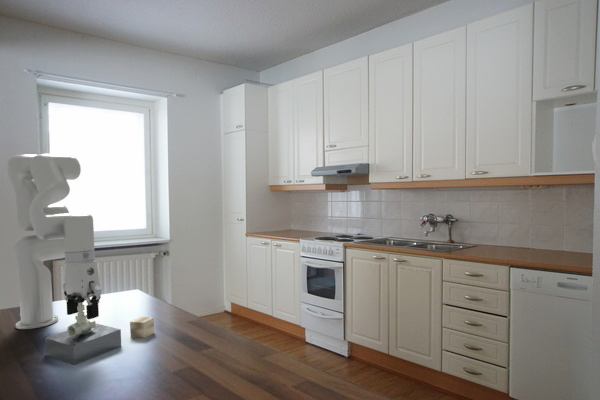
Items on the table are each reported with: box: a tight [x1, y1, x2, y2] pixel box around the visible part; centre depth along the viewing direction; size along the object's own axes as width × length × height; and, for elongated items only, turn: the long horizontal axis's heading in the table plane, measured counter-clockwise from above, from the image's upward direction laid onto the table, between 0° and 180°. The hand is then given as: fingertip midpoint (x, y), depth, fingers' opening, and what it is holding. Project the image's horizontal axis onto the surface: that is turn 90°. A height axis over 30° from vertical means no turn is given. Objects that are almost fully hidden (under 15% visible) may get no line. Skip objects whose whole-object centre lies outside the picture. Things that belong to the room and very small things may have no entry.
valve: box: [66, 293, 97, 338], centre depth 112 cm, size 7×7×12 cm
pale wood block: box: [129, 316, 155, 339], centre depth 125 cm, size 5×5×5 cm
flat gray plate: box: [44, 323, 122, 366], centre depth 113 cm, size 14×14×5 cm
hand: (82, 315), depth 113 cm, fingers open, 9 cm apart
